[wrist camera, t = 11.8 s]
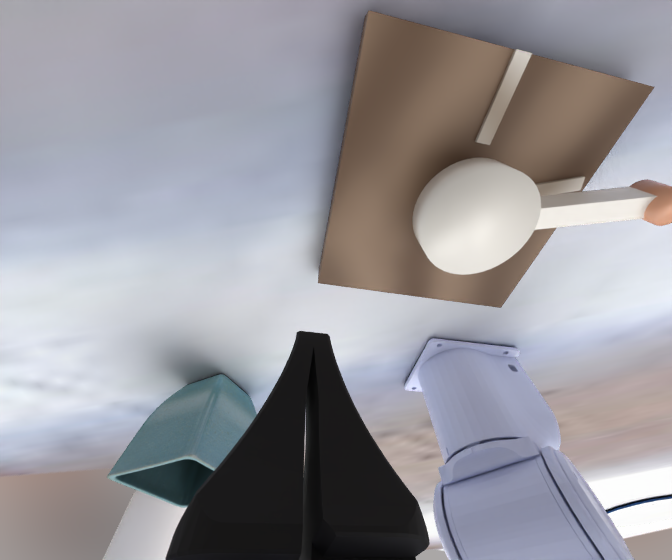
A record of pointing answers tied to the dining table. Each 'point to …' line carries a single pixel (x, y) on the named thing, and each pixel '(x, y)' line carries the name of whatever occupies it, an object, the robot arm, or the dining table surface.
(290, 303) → the dining table surface
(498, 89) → the strip board
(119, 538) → the mug
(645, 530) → the plate
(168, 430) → the flower pot
